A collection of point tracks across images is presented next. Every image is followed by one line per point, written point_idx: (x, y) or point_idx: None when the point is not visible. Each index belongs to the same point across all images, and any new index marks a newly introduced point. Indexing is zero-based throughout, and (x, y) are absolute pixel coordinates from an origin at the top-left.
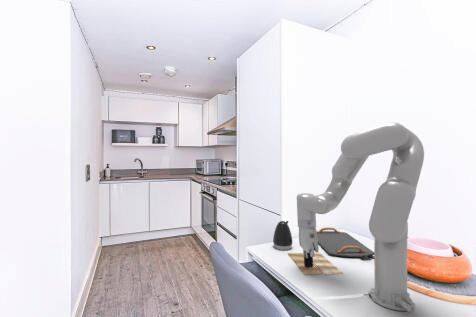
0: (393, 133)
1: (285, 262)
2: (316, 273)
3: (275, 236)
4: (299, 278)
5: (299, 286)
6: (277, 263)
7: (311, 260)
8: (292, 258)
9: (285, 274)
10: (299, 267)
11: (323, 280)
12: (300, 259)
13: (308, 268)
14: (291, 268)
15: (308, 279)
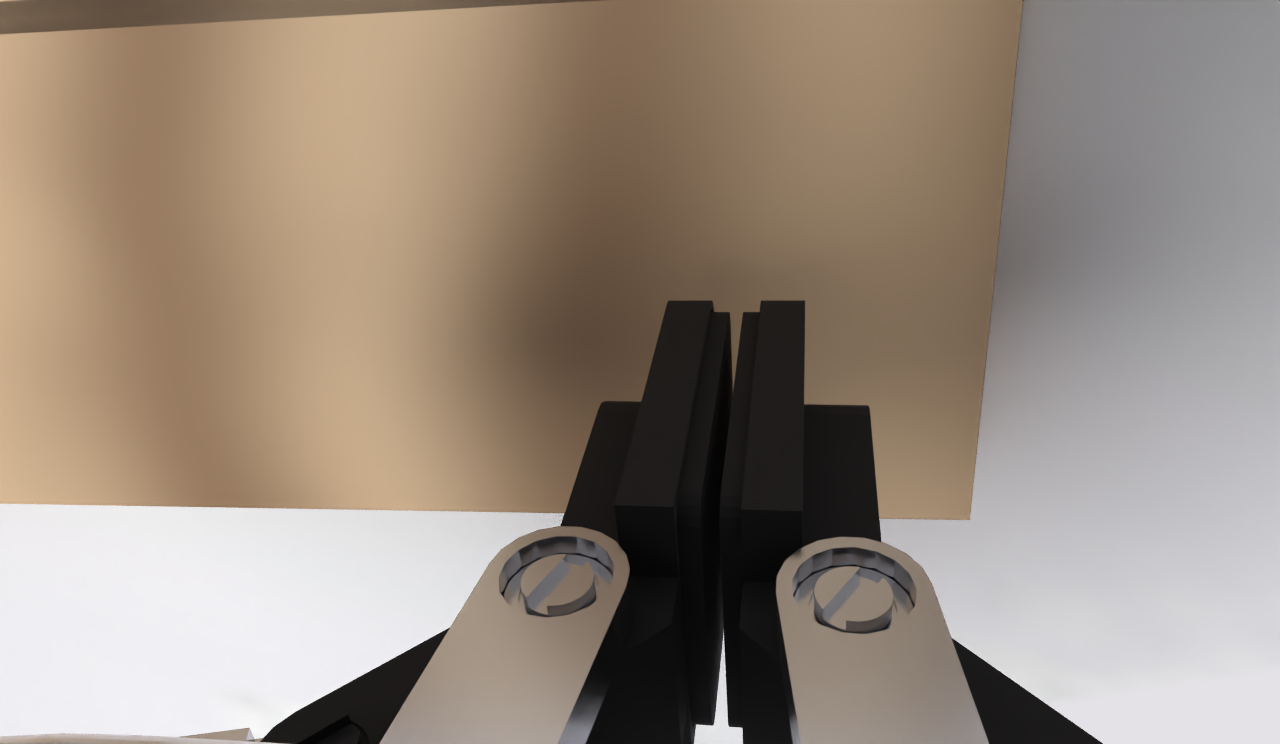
0: None
1: (144, 583)
2: (954, 179)
3: None
4: (929, 561)
5: (1260, 665)
6: (225, 721)
7: (873, 522)
8: (17, 493)
9: (710, 731)
10: (558, 508)
11: (1208, 21)
12: (8, 305)
13: (609, 297)
14: (438, 561)
15: (1026, 400)
